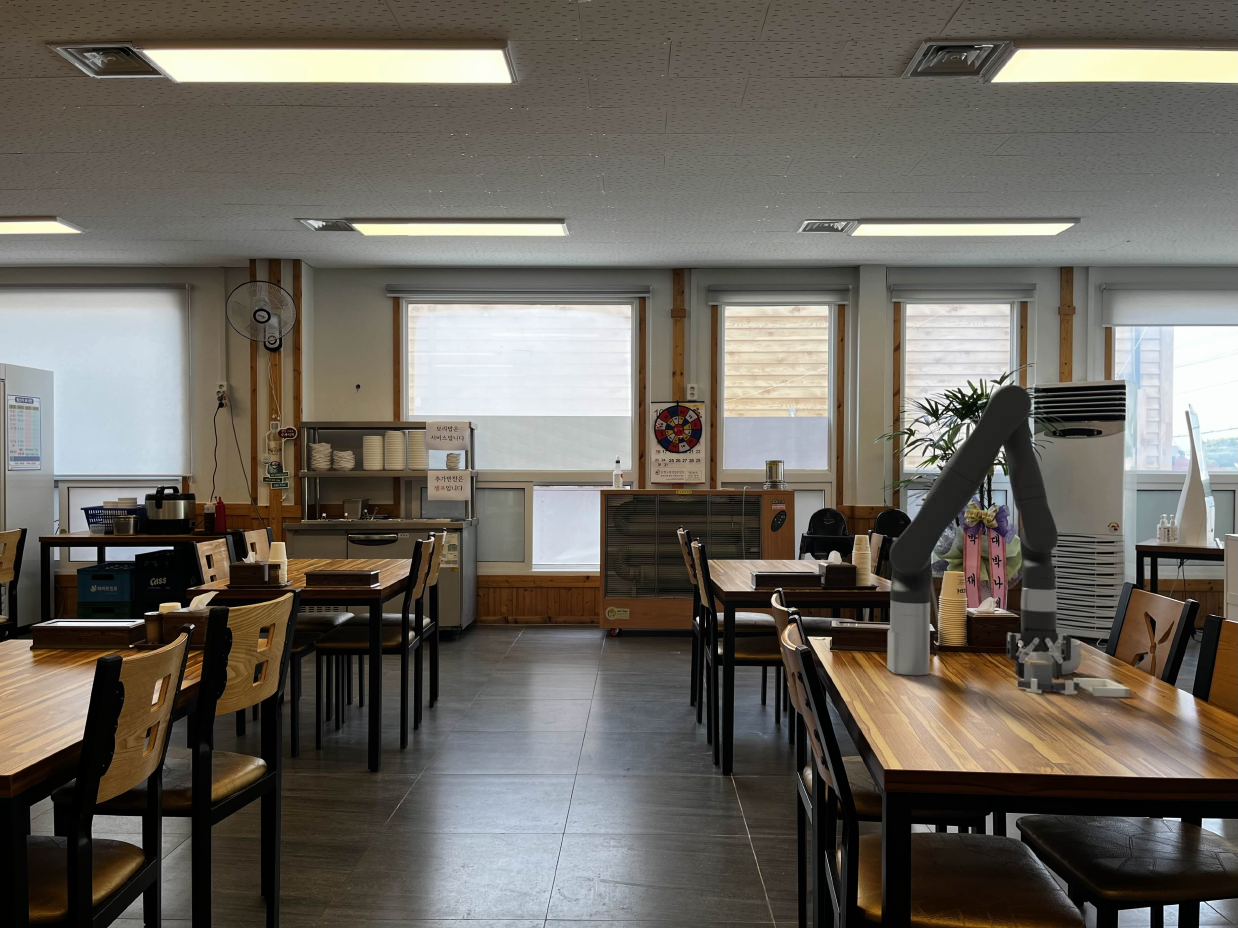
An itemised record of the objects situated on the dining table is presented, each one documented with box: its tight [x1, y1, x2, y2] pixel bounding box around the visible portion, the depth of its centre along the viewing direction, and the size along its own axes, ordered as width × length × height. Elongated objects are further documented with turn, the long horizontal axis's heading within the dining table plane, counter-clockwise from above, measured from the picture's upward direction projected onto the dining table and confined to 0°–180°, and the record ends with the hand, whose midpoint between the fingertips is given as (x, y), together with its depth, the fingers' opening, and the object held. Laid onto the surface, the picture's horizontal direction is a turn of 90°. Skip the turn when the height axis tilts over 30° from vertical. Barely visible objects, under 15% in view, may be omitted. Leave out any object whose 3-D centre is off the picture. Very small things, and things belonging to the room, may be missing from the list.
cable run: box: [1017, 679, 1080, 692], centre depth 203 cm, size 13×4×1 cm, turn 88°
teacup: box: [1032, 638, 1082, 676], centre depth 226 cm, size 14×11×8 cm
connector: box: [1023, 658, 1053, 683], centre depth 211 cm, size 4×6×5 cm, turn 178°
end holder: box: [1073, 677, 1131, 698], centre depth 203 cm, size 8×10×2 cm
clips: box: [1025, 679, 1078, 696], centre depth 203 cm, size 11×6×3 cm, turn 88°
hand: (1038, 678), depth 211 cm, fingers open, 7 cm apart
